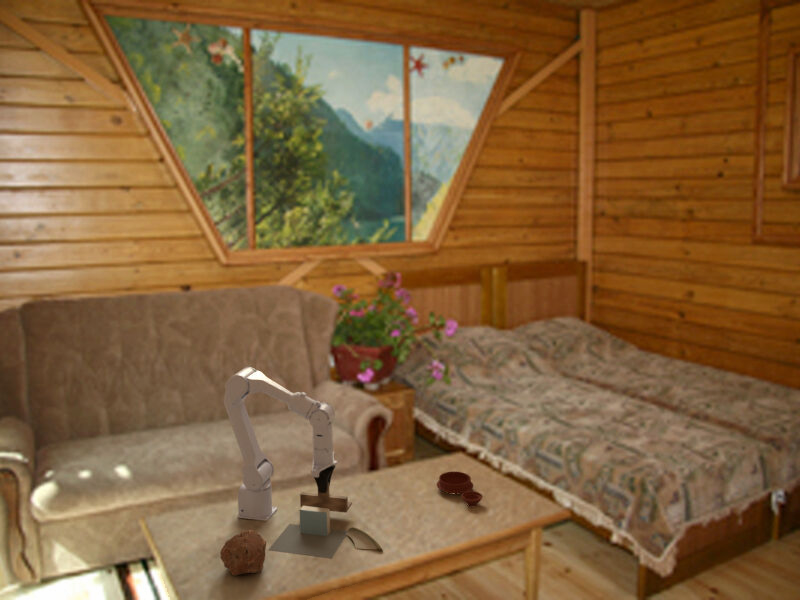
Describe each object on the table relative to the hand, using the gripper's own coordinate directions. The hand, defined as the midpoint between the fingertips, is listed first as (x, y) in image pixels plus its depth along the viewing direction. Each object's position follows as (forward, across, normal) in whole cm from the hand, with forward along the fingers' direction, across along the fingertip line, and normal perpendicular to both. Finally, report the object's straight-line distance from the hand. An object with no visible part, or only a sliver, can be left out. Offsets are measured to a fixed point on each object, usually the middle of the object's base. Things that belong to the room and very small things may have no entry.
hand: (323, 490), depth 208 cm
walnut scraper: (+6, +2, 0) cm, 6 cm away
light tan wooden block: (+9, -8, 0) cm, 12 cm away
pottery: (+10, +25, -36) cm, 45 cm away
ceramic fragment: (+10, -10, -15) cm, 20 cm away
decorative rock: (+10, -30, +11) cm, 33 cm away
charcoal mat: (+9, -12, 0) cm, 15 cm away
